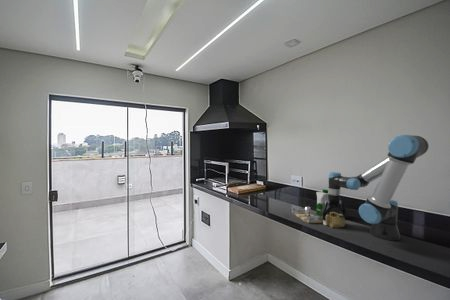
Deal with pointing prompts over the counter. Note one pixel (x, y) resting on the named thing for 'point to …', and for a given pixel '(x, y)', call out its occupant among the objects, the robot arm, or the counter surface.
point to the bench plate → (302, 216)
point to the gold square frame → (335, 220)
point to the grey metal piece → (308, 214)
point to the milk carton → (321, 200)
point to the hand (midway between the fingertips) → (332, 224)
